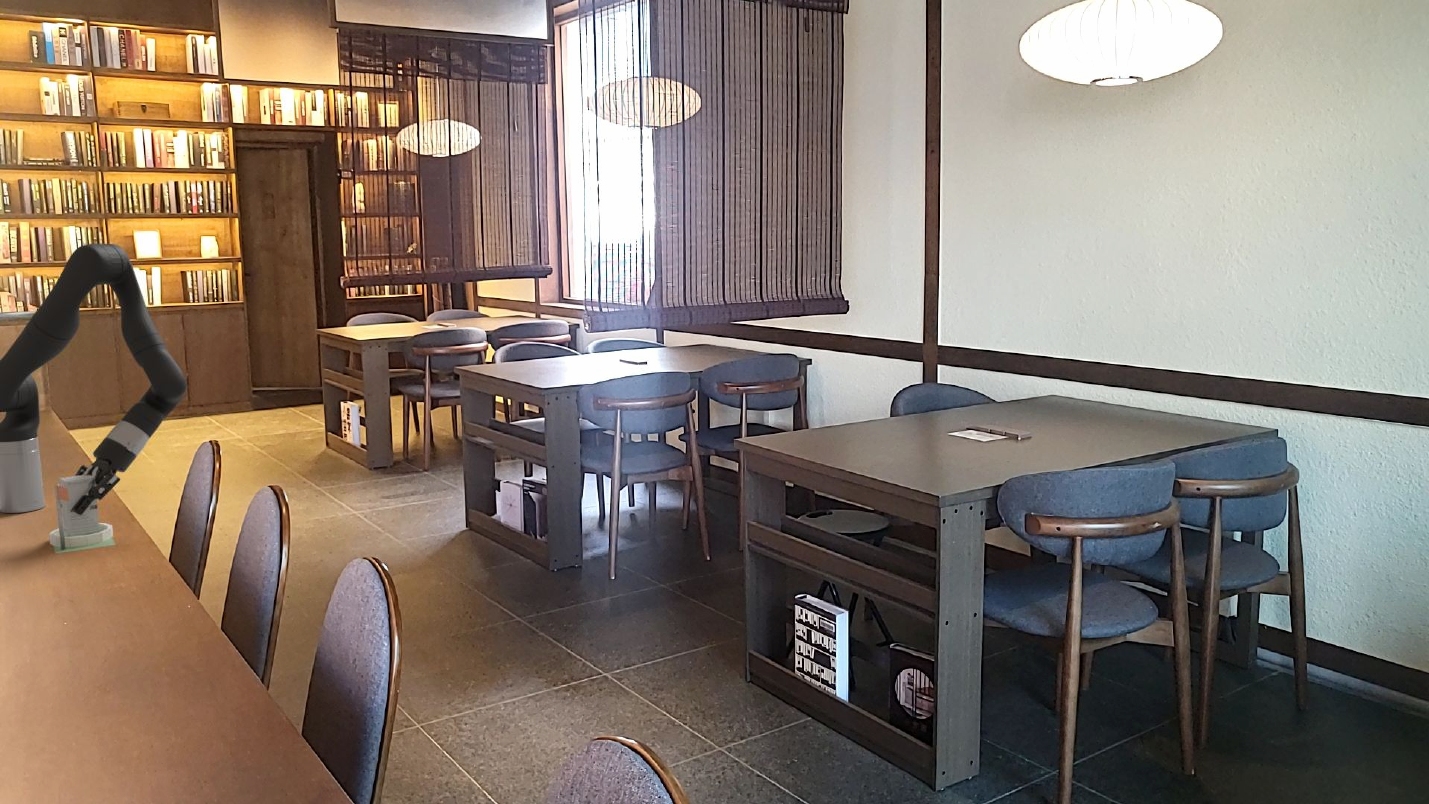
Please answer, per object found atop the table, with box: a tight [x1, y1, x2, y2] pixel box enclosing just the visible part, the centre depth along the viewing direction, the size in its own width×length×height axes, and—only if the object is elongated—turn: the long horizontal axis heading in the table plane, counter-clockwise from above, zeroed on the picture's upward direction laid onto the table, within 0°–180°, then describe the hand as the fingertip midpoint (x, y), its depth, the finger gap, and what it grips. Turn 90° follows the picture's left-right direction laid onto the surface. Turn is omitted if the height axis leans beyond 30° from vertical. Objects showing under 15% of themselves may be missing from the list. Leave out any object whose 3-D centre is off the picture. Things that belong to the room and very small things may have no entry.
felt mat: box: [52, 533, 116, 554], centre depth 238 cm, size 18×11×1 cm, turn 34°
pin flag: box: [53, 483, 69, 550], centre depth 228 cm, size 5×1×14 cm, turn 54°
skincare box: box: [58, 475, 100, 536], centre depth 237 cm, size 6×4×12 cm
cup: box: [48, 522, 114, 547], centre depth 238 cm, size 12×12×2 cm
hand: (70, 510), depth 236 cm, fingers closed on skincare box, 5 cm apart
